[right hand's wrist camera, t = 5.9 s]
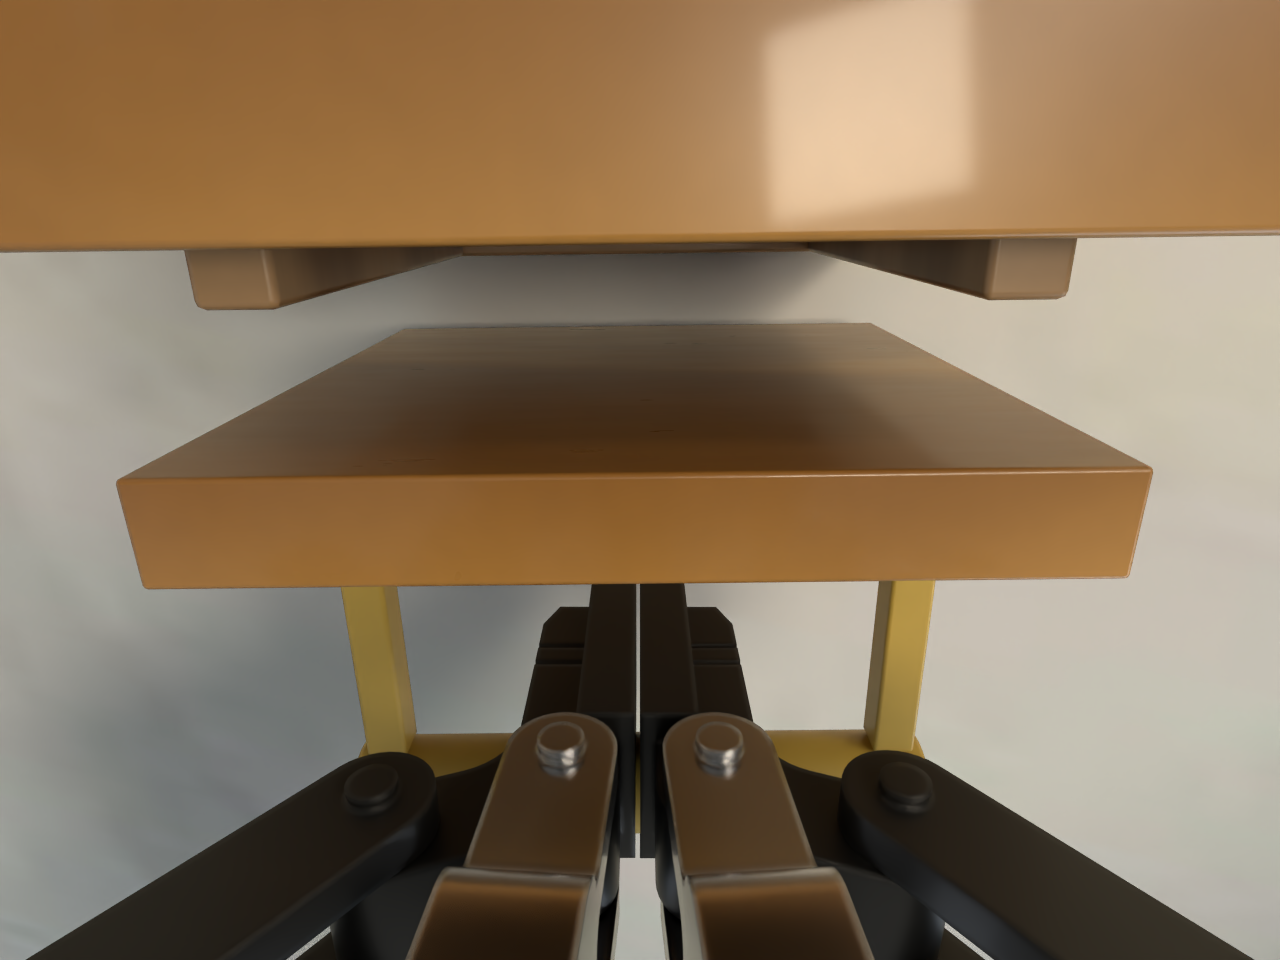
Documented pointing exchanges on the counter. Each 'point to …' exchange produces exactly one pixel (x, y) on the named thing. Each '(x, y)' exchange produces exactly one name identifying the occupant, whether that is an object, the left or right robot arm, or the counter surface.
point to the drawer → (636, 469)
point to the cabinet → (632, 122)
